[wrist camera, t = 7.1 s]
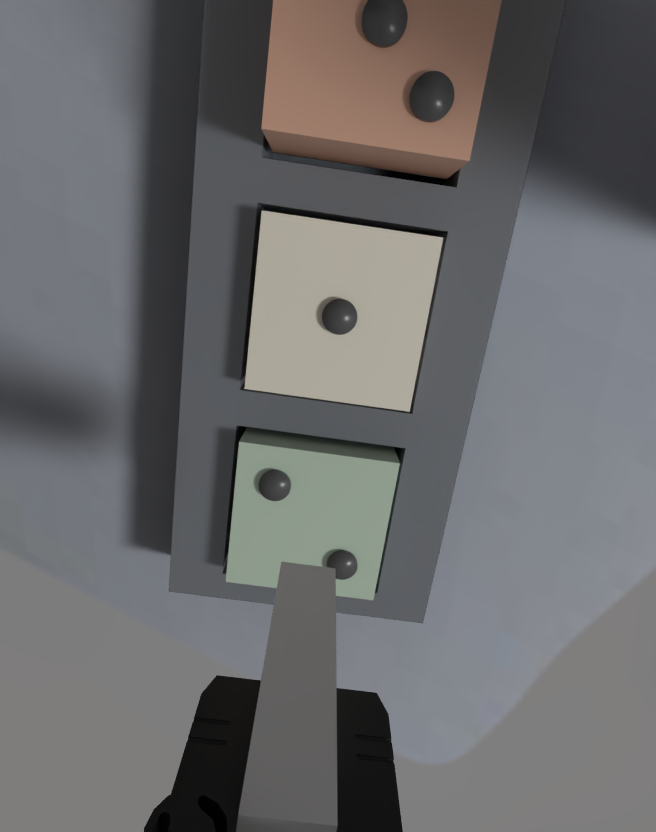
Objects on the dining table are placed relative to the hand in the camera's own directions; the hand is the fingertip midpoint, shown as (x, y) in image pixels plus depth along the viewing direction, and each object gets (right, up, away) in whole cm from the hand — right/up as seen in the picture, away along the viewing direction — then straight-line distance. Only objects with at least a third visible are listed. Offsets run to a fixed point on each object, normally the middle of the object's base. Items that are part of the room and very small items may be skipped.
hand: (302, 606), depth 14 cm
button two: (0, +2, +8) cm, 9 cm away
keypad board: (+1, +10, +6) cm, 12 cm away
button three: (+2, +17, +2) cm, 17 cm away
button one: (+1, +10, +6) cm, 11 cm away
